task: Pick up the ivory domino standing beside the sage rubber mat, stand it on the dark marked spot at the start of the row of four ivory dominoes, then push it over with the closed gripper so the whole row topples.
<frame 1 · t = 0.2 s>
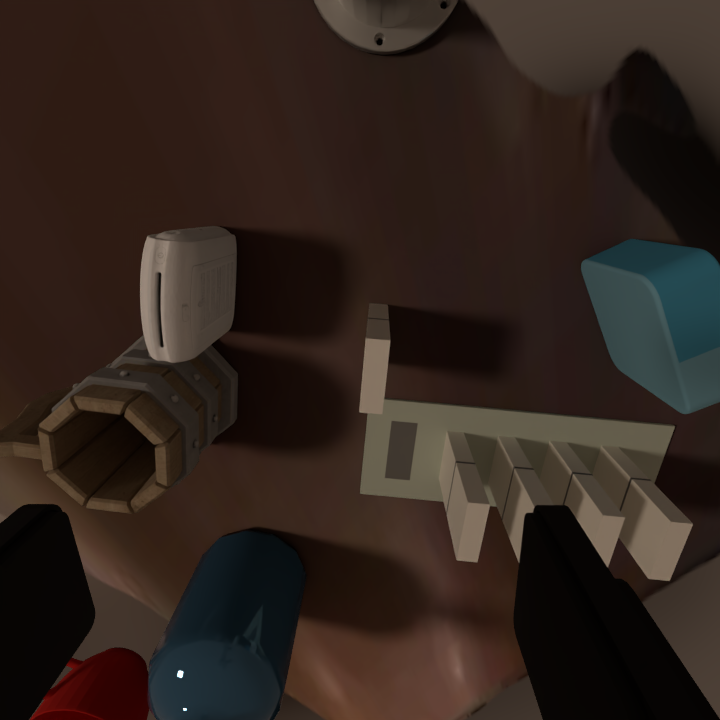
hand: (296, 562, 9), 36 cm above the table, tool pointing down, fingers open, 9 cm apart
wine bottle: (256, 567, 56), on the table
domino 3: (501, 460, 48), resting on domino mat
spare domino: (375, 333, 45), on the table
domino mat: (509, 459, 49), on the table
photo printer: (217, 278, 44), on the table
tankard: (146, 383, 48), on the table
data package: (617, 304, 43), on the table
domino 4: (551, 465, 48), resting on domino mat
ceramic cup: (114, 654, 62), on the table
domino 2: (450, 455, 48), resting on domino mat
domino 5: (602, 470, 48), resting on domino mat
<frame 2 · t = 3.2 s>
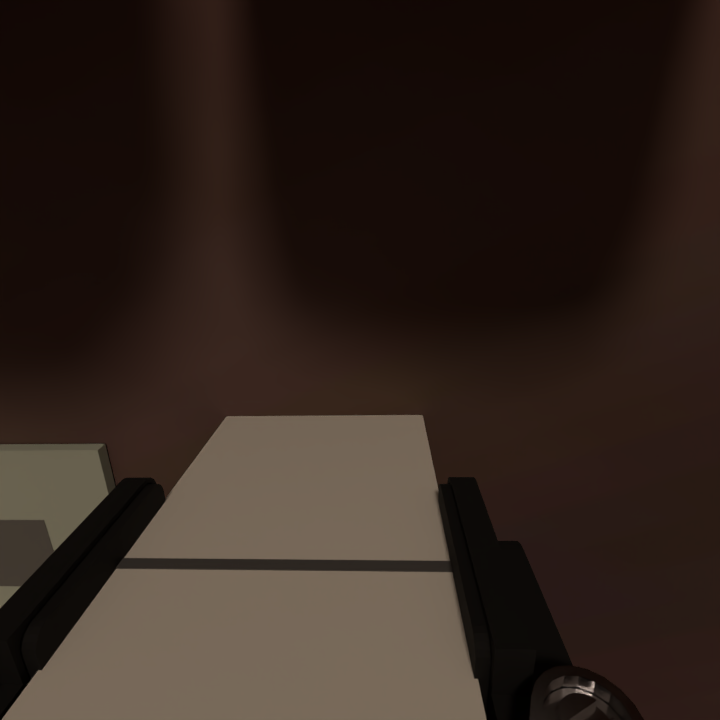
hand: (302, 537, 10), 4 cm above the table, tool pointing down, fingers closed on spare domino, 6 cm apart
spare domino: (325, 442, 14), on the table, touching gripper
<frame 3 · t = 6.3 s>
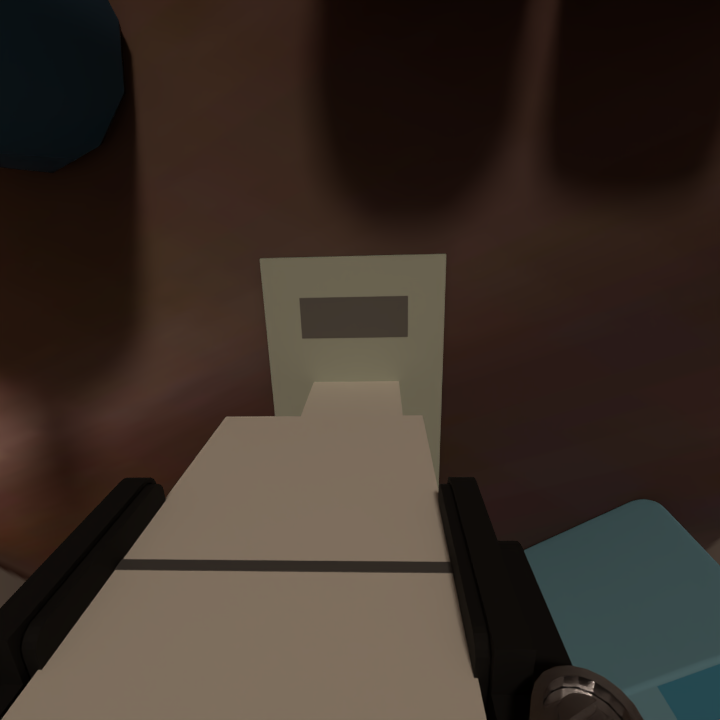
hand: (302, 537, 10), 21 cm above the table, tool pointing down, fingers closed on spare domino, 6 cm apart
wine bottle: (24, 55, 26), on the table
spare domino: (324, 442, 14), point 17 cm above the table, touching gripper
domino mat: (359, 469, 34), on the table
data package: (586, 543, 36), on the table
domino 2: (356, 393, 31), resting on domino mat
when the fingers open (6 cm above the table, at t = 9.6 s): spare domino drops 1 cm, resting on domino mat.
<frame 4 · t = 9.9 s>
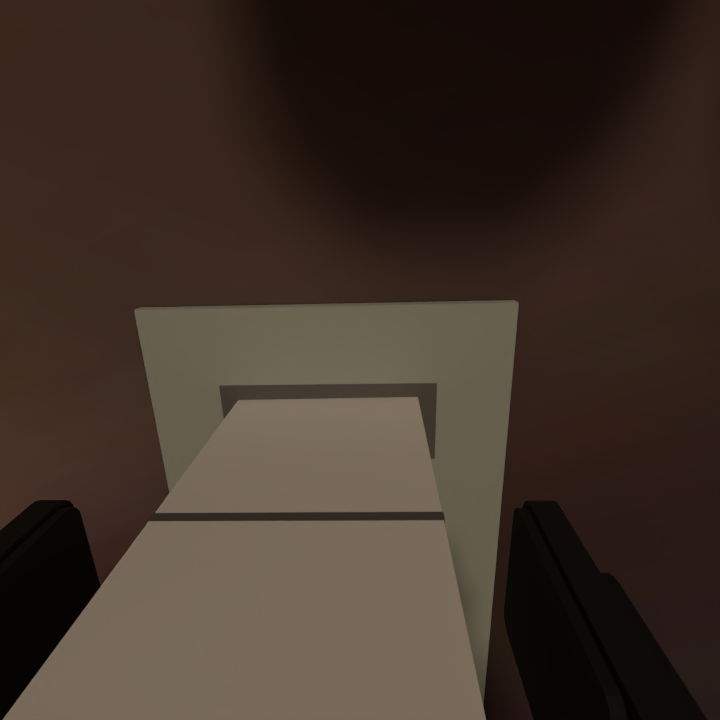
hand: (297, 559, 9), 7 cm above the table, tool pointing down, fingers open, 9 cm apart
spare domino: (328, 422, 15), resting on domino mat
domino mat: (343, 667, 19), on the table
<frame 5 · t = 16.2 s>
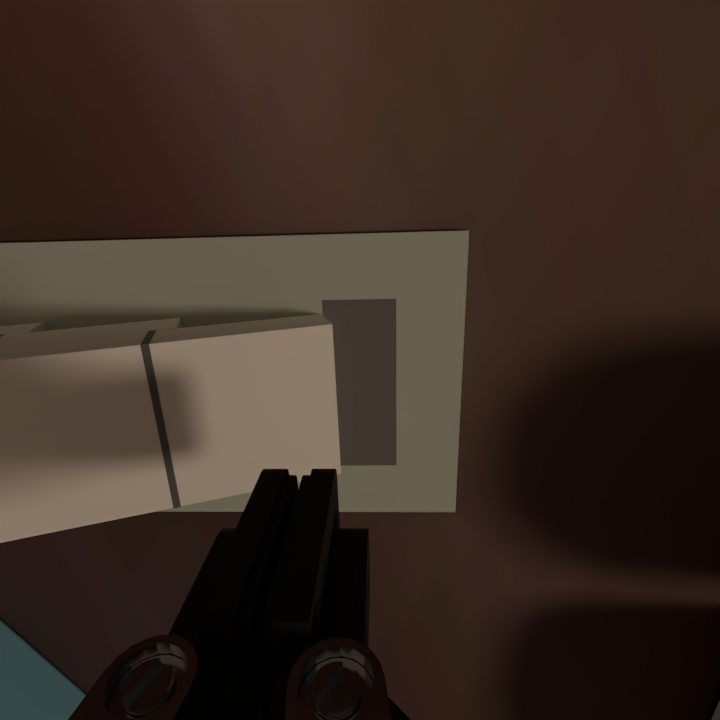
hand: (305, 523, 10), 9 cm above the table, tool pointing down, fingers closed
domino 3: (56, 399, 18), point 1 cm above the table, tilted 71°, touching domino 2, domino 4, domino mat
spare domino: (331, 394, 17), point 1 cm above the table, tilted 71°, touching domino 2, domino mat
domino mat: (80, 387, 19), on the table
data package: (36, 680, 25), on the table
domino 2: (191, 396, 17), point 1 cm above the table, tilted 71°, touching domino 3, domino mat, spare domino
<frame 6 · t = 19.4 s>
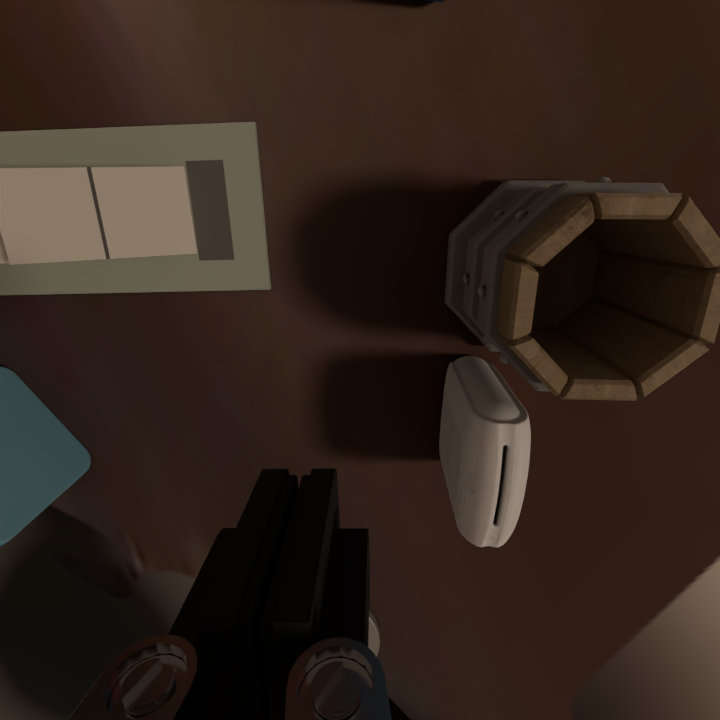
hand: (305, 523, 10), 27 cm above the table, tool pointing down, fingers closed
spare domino: (191, 211, 33), point 1 cm above the table, tilted 71°, touching domino 2, domino mat
domino mat: (61, 216, 35), on the table
photo printer: (463, 409, 39), on the table
tankard: (574, 268, 35), on the table
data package: (38, 422, 41), on the table
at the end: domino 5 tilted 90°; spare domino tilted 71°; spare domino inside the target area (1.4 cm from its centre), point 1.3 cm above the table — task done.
